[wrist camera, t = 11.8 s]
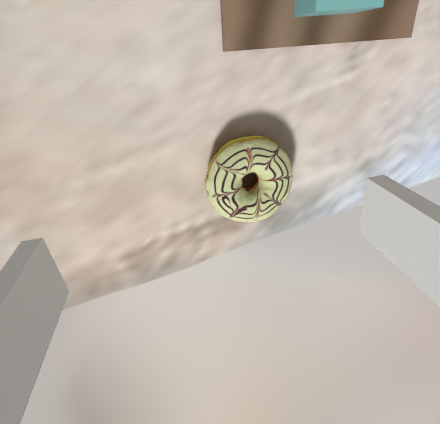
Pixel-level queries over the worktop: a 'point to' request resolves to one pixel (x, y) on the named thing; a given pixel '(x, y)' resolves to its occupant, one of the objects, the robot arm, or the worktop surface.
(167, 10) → the worktop surface
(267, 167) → the decorated donut
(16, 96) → the worktop surface
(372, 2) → the base brick
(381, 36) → the walnut board
